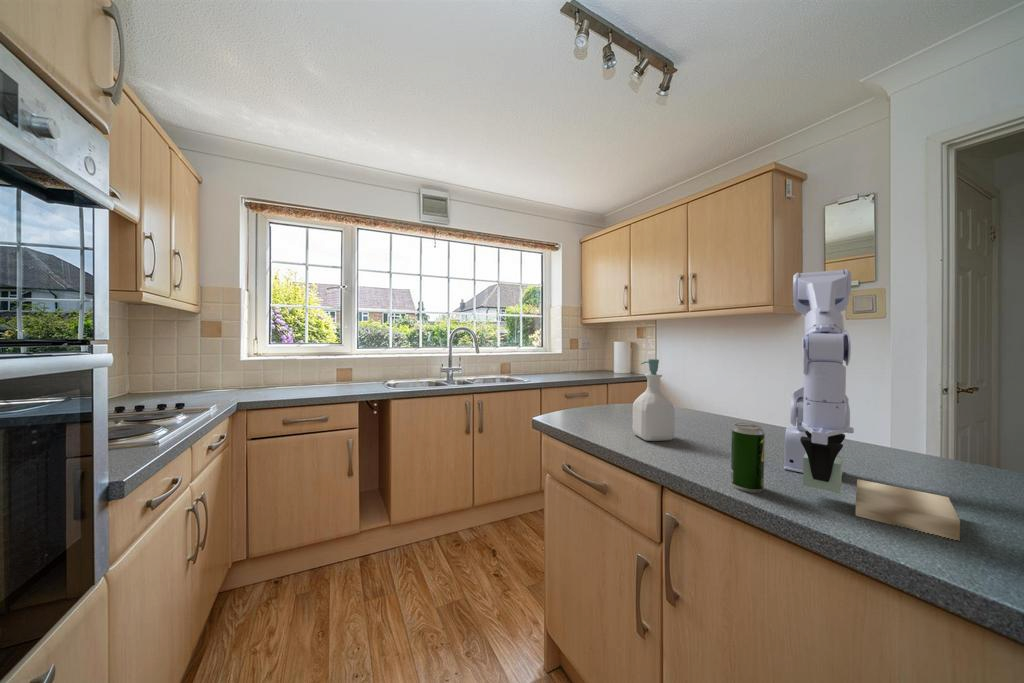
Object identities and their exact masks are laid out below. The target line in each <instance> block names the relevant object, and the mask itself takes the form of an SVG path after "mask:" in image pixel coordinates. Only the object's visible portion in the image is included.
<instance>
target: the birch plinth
mask: <svg viewBox="0 0 1024 683" xmlns="http://www.w3.org/2000/svg"><path fill="white" fill-rule="evenodd" d="M855 492H856V493H855V517H859V518H860V517H861V518H864V519H868V520H872V521H876V522H878V523H879V522H880V523H883V524H884V523H885V524H888V525H891V524H892V525H891V526H895V525H898V526H897V527H899V526H902V527H901V528H903V527H906V528H905V529H907V528H910V529H909V530H911V529H914V530H913V531H915V530H918V531H917V532H919V531H921V532H920V533H923V532H925V533H924V534H927V533H930V534H929V535H931V534H935V535H939V536H942V537H941V538H943V537H946V538H945V539H947V538H950V539H949V540H951V539H954V540H953V541H955V540H959V541H960V542H961V540H960V539H961V538H960V537H961V520H960V518H959V516H958V514H957V512H956V510H955V507H954V506H953V503H952V502H951V500H950V498H949V497H948V496H944V495H940V494H939V495H938V494H934V493H929V492H924V491H918V490H915V489H910V488H909V489H908V488H905V487H904V488H903V487H899V486H894V485H888V484H884V483H879V482H873V481H870V480H869V481H867V480H864V479H858V478H857V480H856V491H855ZM935 535H934V536H935ZM939 536H938V537H939ZM959 541H958V542H959Z"/></svg>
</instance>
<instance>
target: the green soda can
mask: <svg viewBox="0 0 1024 683" xmlns="http://www.w3.org/2000/svg"><path fill="white" fill-rule="evenodd" d="M765 436H766V435H765V431H764V427H763V426H760V425H758V424H753V423H746V422H745V423H744V422H742V423H741V422H737V423H736V422H735V423H733V424H732V428H731V448H730V450H731V453H730V455H731V456H730V458H731V459H730V463H731V464H730V466H731V467H730V483H731V485H732V487H733V488H735V489H737V490H739V491H741V492H745V493H752V494H754V493H755V494H759V493H761V492H762V491H763V489H764V487H765V485H764V484H765V441H766V440H765V438H766V437H765Z"/></svg>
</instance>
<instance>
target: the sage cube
mask: <svg viewBox="0 0 1024 683" xmlns="http://www.w3.org/2000/svg"><path fill="white" fill-rule="evenodd" d="M842 469H843V457H841V456H840V457H837V456H836V458H835V461H834V464H833V469H832V473H831V477H830V480H829V482H825V481H820V480H815V479H813V477H812V473H811V469H810V464H809V459H808V456H807V453H805V455H804V457H803V473H802V486H805V487H808V488H809V487H810V488H813V489H819V490H822V491H827V492H832V493H836V494H841V490H842V482H843V481H842V479H843V478H842V476H843V473H842Z"/></svg>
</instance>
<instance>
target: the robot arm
mask: <svg viewBox="0 0 1024 683" xmlns="http://www.w3.org/2000/svg"><path fill="white" fill-rule="evenodd" d="M792 277H793V278H792V280H793V281H792V298H793V308H794V311H795V312H796V313H798V314H802V315H803V316H804V335H803V336H802V338H801V362H802V366H803V367H802V368H803V369H802V370H803V372H802V374H803V375H804V377H803V385H802V386H799V387H798V388H797V389H796V388H795V390H793V392H792V393H791V399H790V424H791V425H792V426H793V427H792V426H787V427H786V429H785V434H784V435H785V436H784V455H783V458H784V462H783V463H784V466H783V469H785V470H786V471H792V472H798V473H802V474H803V457H804V455H805V453H807V456H808V459H809V464H810V469H811V473H812V477H813V479H815V480H820V481H825V482H829V480H830V477H831V473H832V469H833V464H834V461H835V458H836V456H837V457H841V451H842V449H843V447H844V444H843V441H844V440H845V439H846V434H847V433H848V434H854V433H855V432H854V431H855V428H854V427H851V426H850V425H851V409H850V404H849V397H848V396H847V394H846V388H847V386H846V385H847V384H846V382H847V381H846V379H847V377H846V376H847V367H848V366H849V364H850V362H851V355H852V354H851V353H852V352H851V350H852V349H851V348H852V345H851V344H852V343H851V339H850V335H849V332H848V330H846V329H845V324H844V316H843V314H842V312H843V311H846V309H847V306H848V305H849V300H850V295H851V291H852V273H851V270H849V269H848V268H845V269H840V270H839V269H838V270H837V269H836V270H825V271H824V270H823V271H811V272H801V273H800V272H796V273H795V274H793V276H792ZM844 362H845V365H843V364H844ZM845 433H846V434H845ZM843 472H844V470H843V468H842V474H844V473H843Z"/></svg>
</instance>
